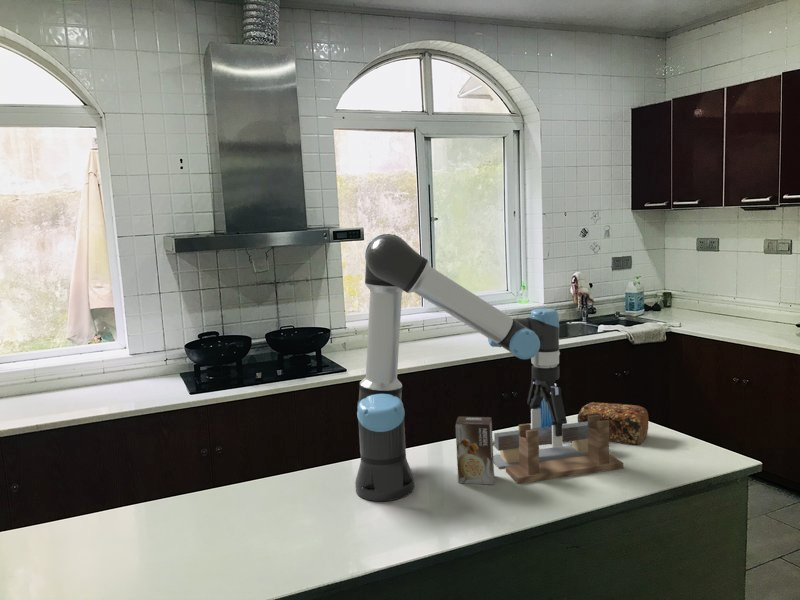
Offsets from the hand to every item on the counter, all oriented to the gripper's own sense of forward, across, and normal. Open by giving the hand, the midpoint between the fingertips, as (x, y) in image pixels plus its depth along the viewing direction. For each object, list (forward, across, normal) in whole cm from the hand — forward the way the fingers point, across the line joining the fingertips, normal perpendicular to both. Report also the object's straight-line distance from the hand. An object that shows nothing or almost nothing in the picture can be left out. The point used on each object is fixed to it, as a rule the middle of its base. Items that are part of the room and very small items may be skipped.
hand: (546, 438), depth 180 cm
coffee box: (+6, -8, +24) cm, 26 cm away
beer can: (+5, +16, -7) cm, 18 cm away
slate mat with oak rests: (+5, 0, 0) cm, 5 cm away
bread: (+5, +8, -25) cm, 27 cm away
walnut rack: (+5, -10, 0) cm, 12 cm away
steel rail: (+1, 0, 0) cm, 1 cm away
